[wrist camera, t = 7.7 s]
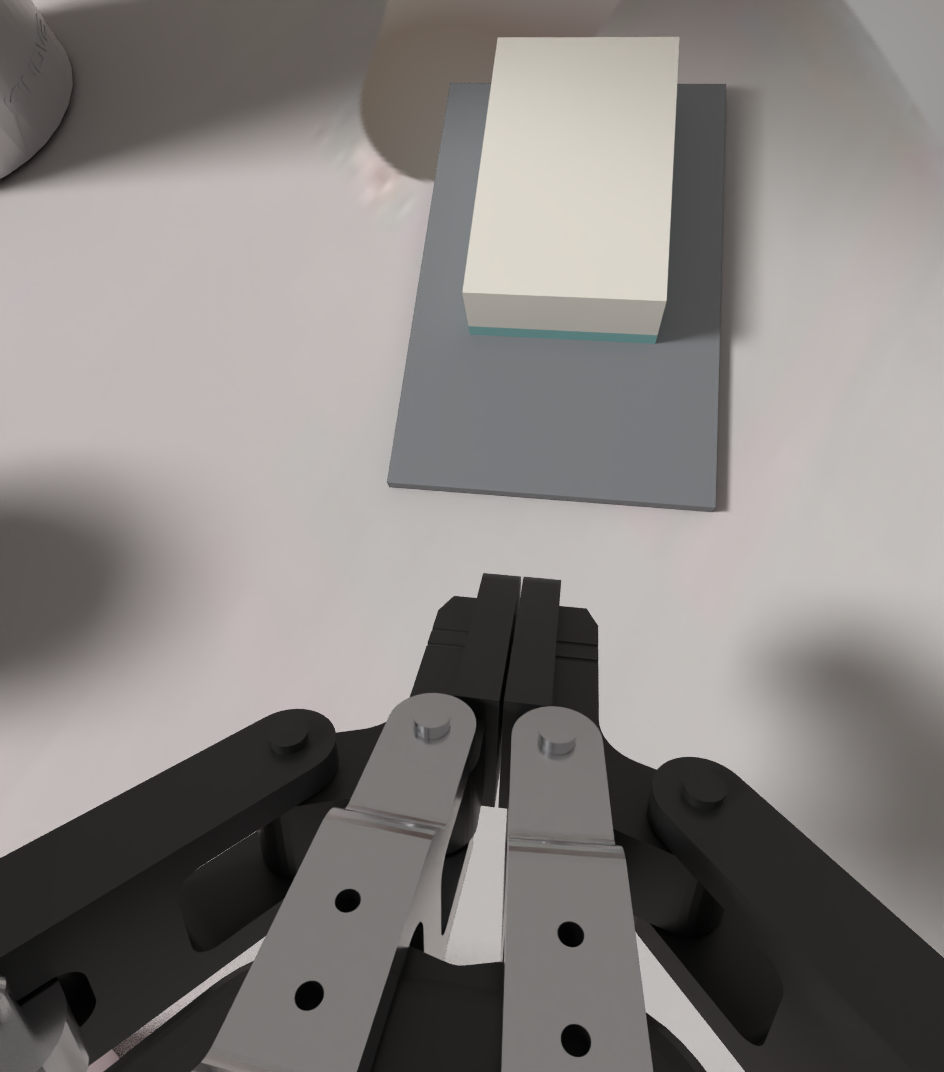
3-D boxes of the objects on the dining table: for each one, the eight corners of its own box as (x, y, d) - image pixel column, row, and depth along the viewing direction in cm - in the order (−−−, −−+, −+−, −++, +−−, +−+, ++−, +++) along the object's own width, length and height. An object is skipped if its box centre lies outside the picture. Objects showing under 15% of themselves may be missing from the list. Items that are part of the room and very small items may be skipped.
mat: (389, 486, 23) (386, 482, 23) (451, 91, 27) (450, 82, 27) (712, 511, 22) (715, 507, 21) (723, 93, 26) (726, 84, 26)
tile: (462, 292, 22) (497, 37, 24) (470, 334, 24) (501, 96, 27) (666, 301, 21) (679, 36, 24) (655, 343, 23) (668, 97, 26)
